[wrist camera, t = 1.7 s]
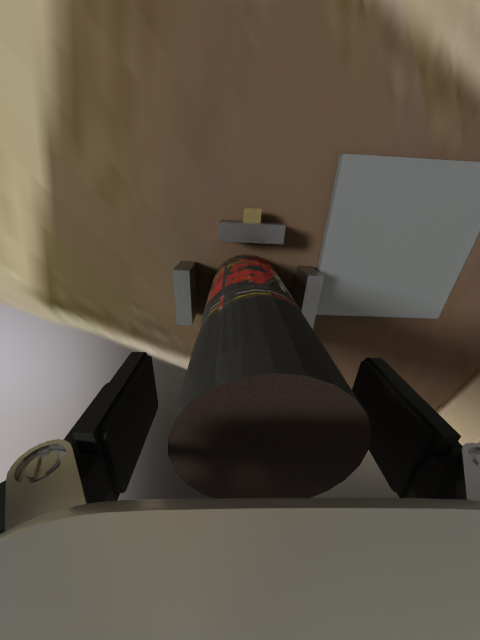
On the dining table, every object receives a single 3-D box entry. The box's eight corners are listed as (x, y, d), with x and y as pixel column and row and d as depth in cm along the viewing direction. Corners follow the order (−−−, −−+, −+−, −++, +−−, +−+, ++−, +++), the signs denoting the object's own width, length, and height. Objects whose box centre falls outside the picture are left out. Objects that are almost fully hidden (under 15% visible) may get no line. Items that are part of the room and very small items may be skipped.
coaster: (339, 155, 16) (343, 153, 15) (502, 165, 16) (512, 164, 16) (308, 311, 21) (310, 314, 21) (432, 316, 22) (437, 318, 21)
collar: (177, 204, 17) (166, 204, 14) (321, 211, 18) (337, 212, 15) (186, 348, 23) (180, 367, 20) (296, 351, 23) (304, 369, 21)
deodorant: (292, 275, 20) (416, 423, 6) (256, 329, 22) (292, 520, 9) (232, 240, 18) (227, 334, 5) (200, 301, 21) (138, 478, 7)
